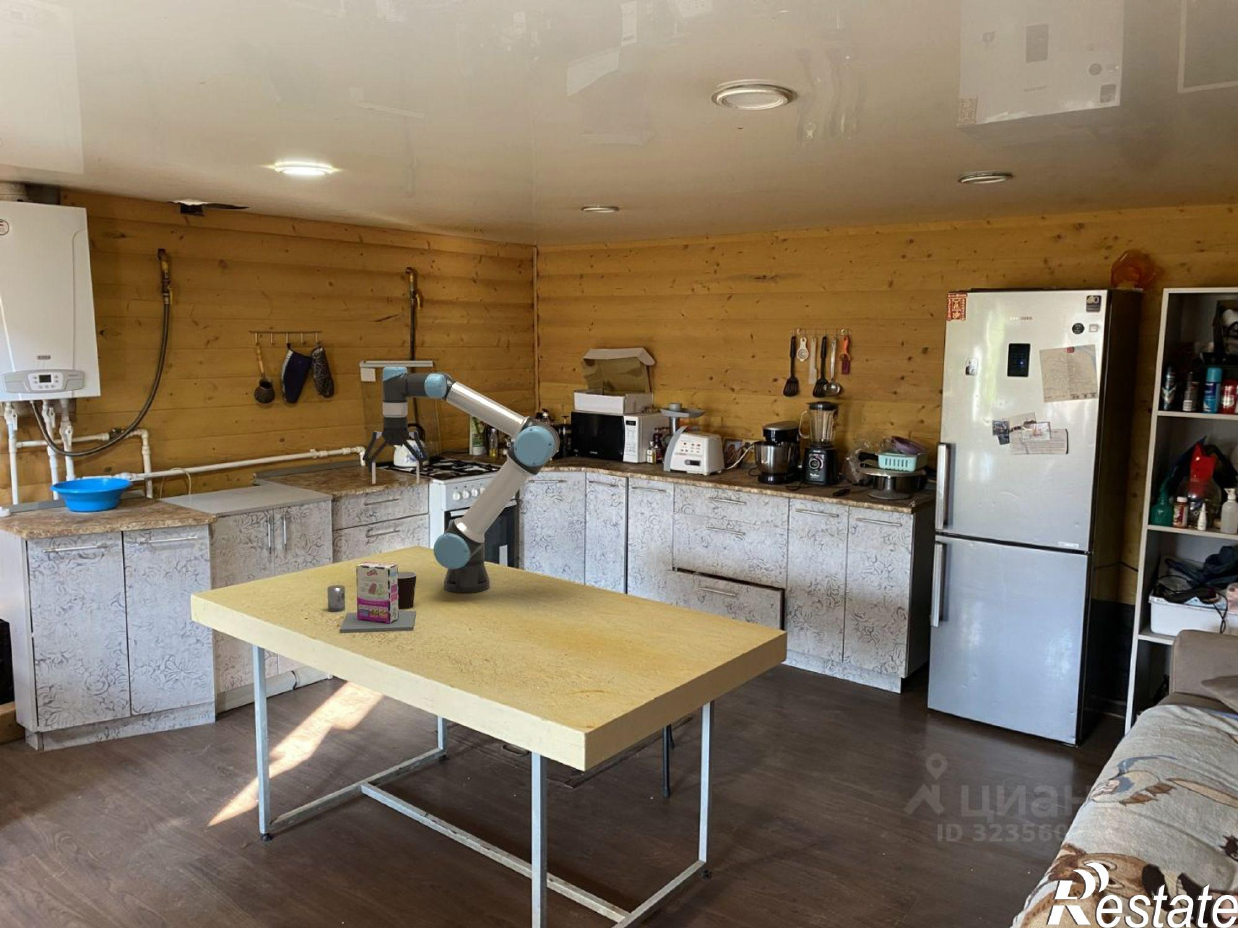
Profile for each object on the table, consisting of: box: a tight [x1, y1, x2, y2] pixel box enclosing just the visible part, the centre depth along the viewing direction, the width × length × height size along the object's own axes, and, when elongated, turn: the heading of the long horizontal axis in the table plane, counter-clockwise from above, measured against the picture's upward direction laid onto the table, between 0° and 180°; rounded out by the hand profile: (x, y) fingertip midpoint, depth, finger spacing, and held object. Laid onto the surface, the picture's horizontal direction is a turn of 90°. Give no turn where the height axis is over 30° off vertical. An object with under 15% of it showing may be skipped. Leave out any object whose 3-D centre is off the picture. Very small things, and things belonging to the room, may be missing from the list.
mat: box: [339, 610, 417, 634], centre depth 259 cm, size 20×16×1 cm
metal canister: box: [326, 584, 346, 613], centre depth 271 cm, size 5×5×7 cm
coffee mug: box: [398, 570, 418, 610], centre depth 277 cm, size 12×9×10 cm
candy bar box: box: [355, 561, 400, 624], centre depth 258 cm, size 11×5×16 cm, turn 72°
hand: (396, 482), depth 284 cm, fingers open, 13 cm apart
